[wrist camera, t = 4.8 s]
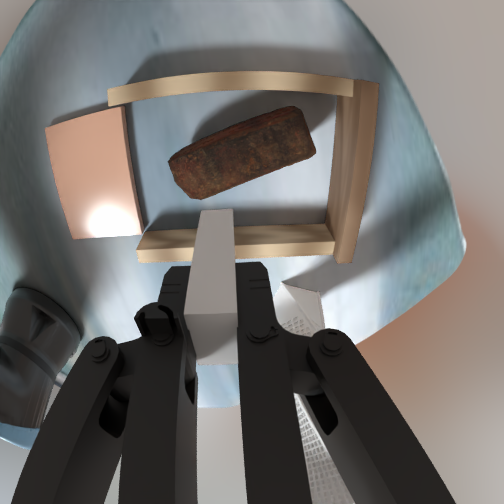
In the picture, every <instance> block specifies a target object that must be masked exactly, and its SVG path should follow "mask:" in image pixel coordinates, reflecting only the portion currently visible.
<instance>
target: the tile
mask: <svg viewBox="0 0 504 504" xmlns="http://www.w3.org/2000/svg"><path fill="white" fill-rule="evenodd" d="M45 133H46V139H47V145H48V150H49V156H50V160H51V165H52V170H53V174H54V178H55V182H56V186H57V190H58V194H59V197H60V201H61V204H62V208H63V211H64V214H65V217H66V220H67V224H68V227H69V230H70V232H71V235H72V238H73V239H86V238H98V237H111V236H125V235H140V234H142V233H143V232H144V230H145V229H144V225H143V220H142V216H141V211H140V206H139V201H138V196H137V191H136V185H135V180H134V174H133V168H132V161H131V155H130V148H129V140H128V132H127V124H126V114H125V106H120V107H116V108H111V109H107V110H103V111H99V112H95V113H91V114H88V115H84V116H81V117H77V118H74V119H71V120H67V121H64V122H61V123H58V124H55V125H52V126H50V127H47V128H45Z"/></svg>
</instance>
